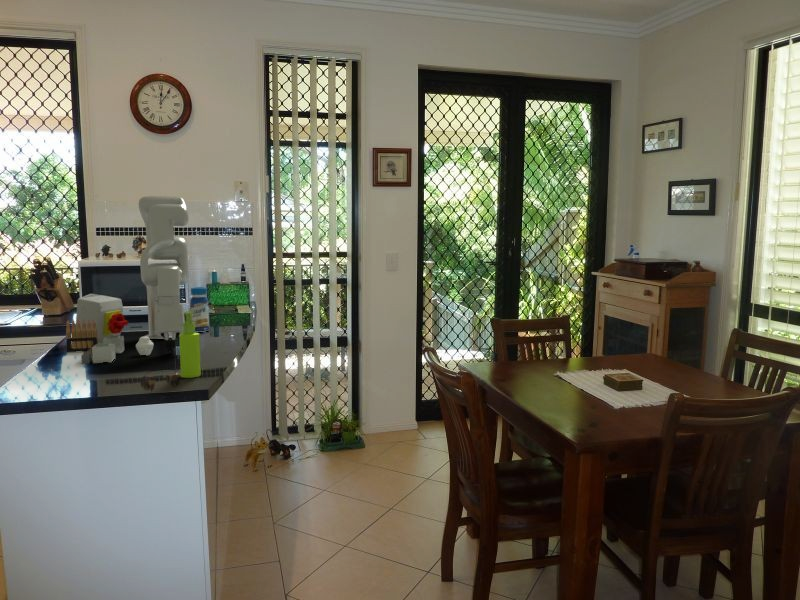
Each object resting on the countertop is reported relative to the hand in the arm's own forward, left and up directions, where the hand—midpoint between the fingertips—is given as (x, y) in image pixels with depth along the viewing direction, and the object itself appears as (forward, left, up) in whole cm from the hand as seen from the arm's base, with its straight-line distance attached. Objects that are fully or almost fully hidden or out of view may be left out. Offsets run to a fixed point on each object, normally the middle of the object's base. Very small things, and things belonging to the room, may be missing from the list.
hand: (171, 350), depth 228 cm
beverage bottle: (-51, +7, -2) cm, 52 cm away
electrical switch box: (-32, -29, -2) cm, 43 cm away
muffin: (0, -9, -2) cm, 9 cm away
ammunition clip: (-14, -33, -2) cm, 36 cm away
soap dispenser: (+39, +10, -2) cm, 40 cm away
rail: (0, -23, -1) cm, 23 cm away
